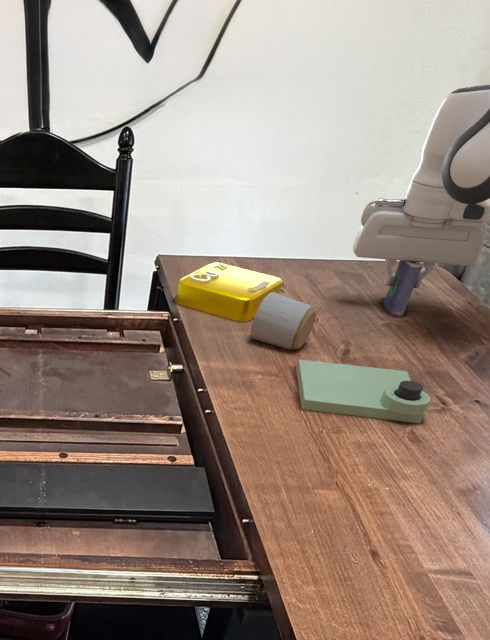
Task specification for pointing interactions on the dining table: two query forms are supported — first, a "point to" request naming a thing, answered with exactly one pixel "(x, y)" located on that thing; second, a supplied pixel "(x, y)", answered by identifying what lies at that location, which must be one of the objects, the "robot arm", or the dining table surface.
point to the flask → (402, 287)
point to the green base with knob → (357, 391)
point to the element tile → (226, 291)
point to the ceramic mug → (283, 322)
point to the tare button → (409, 390)
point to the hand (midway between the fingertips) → (400, 286)
